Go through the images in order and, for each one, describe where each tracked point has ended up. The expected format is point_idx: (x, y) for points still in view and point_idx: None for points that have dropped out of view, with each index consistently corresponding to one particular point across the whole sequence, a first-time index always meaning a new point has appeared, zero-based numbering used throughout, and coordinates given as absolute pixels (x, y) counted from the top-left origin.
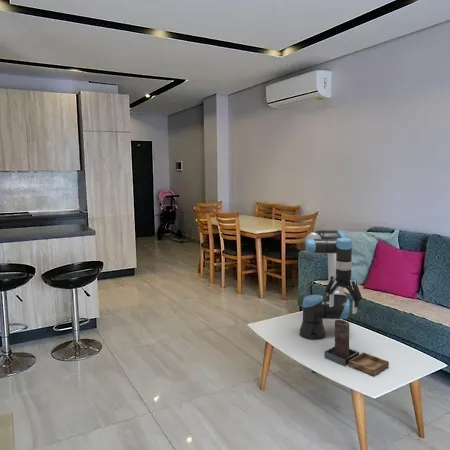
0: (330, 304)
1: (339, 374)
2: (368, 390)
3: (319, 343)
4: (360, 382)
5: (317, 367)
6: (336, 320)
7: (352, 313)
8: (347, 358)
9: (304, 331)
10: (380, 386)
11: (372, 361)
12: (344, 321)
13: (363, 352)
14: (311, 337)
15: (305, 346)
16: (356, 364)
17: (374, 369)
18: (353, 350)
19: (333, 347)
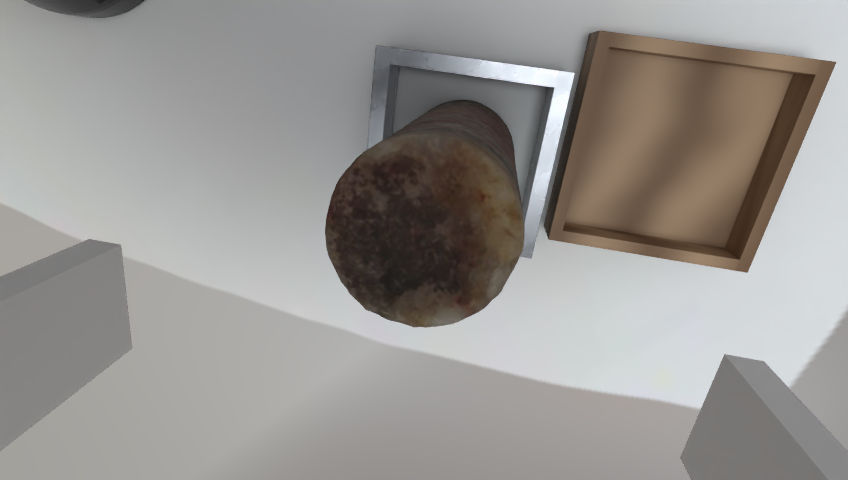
0: (80, 384)
1: (536, 341)
2: None
3: (218, 25)
4: (668, 355)
5: (403, 339)
6: (345, 254)
7: (681, 456)
8: (535, 231)
9: (36, 2)
10: (785, 334)
11: (677, 74)
12: (426, 160)
13: (598, 35)
14: (124, 2)
15: (188, 141)
16: (609, 248)
17: (747, 255)
18: (521, 72)
19: (373, 127)
